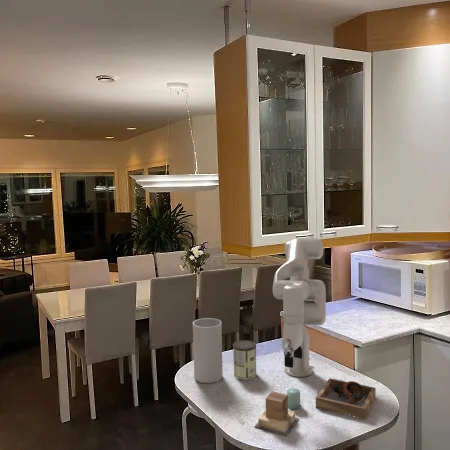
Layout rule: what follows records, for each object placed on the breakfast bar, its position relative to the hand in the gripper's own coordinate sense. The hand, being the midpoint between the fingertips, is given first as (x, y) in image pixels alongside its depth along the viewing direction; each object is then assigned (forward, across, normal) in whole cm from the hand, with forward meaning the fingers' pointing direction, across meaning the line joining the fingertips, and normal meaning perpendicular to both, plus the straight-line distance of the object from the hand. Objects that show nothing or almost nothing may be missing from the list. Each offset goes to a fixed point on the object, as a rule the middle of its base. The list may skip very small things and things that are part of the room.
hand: (293, 362), depth 168 cm
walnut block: (+15, +13, -1) cm, 20 cm away
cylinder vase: (+18, -7, -42) cm, 46 cm away
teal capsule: (+18, -1, 0) cm, 18 cm away
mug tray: (+18, -13, +17) cm, 27 cm away
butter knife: (+18, +11, -23) cm, 31 cm away
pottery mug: (+18, -16, +17) cm, 29 cm away
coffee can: (+18, -17, -29) cm, 38 cm away
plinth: (+18, +13, -1) cm, 22 cm away
